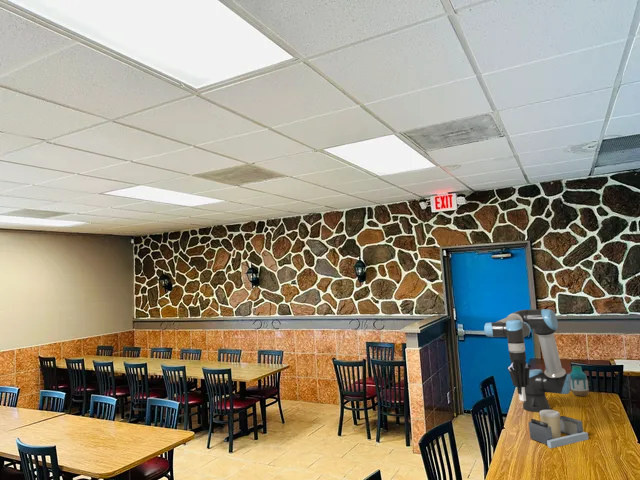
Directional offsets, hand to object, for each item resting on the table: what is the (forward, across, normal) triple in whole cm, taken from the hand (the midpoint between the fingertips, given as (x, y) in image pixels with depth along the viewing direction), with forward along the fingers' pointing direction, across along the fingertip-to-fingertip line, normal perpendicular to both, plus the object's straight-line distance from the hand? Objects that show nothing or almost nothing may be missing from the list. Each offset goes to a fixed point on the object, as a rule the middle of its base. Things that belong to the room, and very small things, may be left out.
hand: (522, 400), depth 213 cm
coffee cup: (+21, +19, +3) cm, 29 cm away
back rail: (+21, +18, -7) cm, 28 cm away
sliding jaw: (+21, +8, 0) cm, 23 cm away
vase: (+20, +95, +51) cm, 110 cm away
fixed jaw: (+21, +28, 0) cm, 35 cm away
